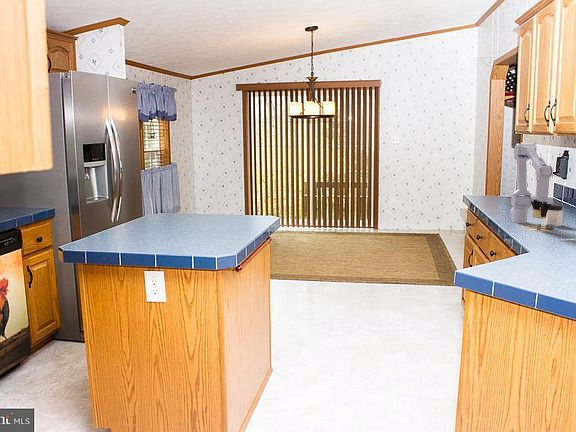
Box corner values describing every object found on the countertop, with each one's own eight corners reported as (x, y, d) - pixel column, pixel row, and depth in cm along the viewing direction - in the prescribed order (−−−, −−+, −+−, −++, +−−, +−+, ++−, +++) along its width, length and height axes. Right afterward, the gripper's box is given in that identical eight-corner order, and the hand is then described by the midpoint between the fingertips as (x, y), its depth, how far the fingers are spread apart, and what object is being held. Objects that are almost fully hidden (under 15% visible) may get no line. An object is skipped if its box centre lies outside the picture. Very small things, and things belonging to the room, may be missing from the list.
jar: (542, 227, 289) (544, 205, 287) (543, 224, 296) (545, 203, 294) (561, 228, 285) (563, 206, 283) (561, 226, 292) (564, 204, 290)
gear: (542, 228, 279) (543, 222, 279) (551, 228, 280) (551, 222, 279) (548, 230, 274) (549, 224, 274) (557, 230, 275) (557, 224, 275)
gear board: (517, 227, 287) (518, 220, 287) (539, 226, 289) (540, 219, 289) (536, 233, 272) (536, 225, 271) (559, 232, 274) (560, 225, 273)
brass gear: (532, 216, 277) (532, 209, 276) (540, 216, 278) (541, 209, 277) (538, 218, 272) (538, 210, 272) (547, 218, 273) (547, 210, 272)
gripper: (526, 187, 279) (524, 213, 281) (544, 191, 265) (541, 218, 267) (538, 187, 280) (536, 213, 282) (557, 191, 266) (554, 218, 268)
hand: (539, 215), depth 275 cm, fingers closed on brass gear, 5 cm apart
